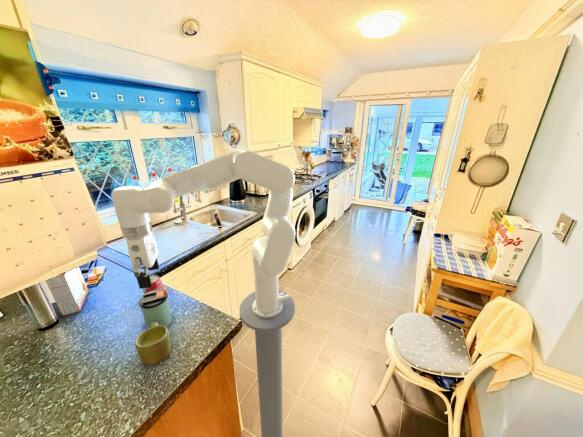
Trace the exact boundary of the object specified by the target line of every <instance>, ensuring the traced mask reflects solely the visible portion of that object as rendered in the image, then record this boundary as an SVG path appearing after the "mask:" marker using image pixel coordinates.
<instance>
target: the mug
mask: <svg viewBox="0 0 583 437" xmlns="http://www.w3.org/2000/svg"><path fill="white" fill-rule="evenodd" d="M150 327H151V328H149V329H147V328H146V329H145V330H143V331H141V333H140V334H138V336H137V337H136V338H135V340H134V346H135V350H136V352H137V354H138V357H139V359H140V360H141V362H142V364H144V365H147V366H154V365H157V364H159V363H160V362H162V361H164V360H165V359H166V358H168V356H169V355H170V354H171V352H172V344H171V340H170V334H169V333H170V332H169V330H168V327H165V326H162V325H158V323H157V322H155V323H152V324H151V326H150Z"/></svg>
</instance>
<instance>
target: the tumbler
mask: <svg viewBox="0 0 583 437" xmlns="http://www.w3.org/2000/svg"><path fill="white" fill-rule="evenodd" d="M160 291H163V290H161V289H158V290H153V291H150V292H148V293H146V294H144V293H143V295H141V296H140V297H139V299H138V305H139V307H140V309H141V312H142V316H143V319H144V323H145V327H146V330H147V329H149V328H151V327H150V326H151V324H152V323H155V322H157V323H158V325H162V326H165V327H166V328H168V327H169V326H170V325H171V323H172V322H173V317H172V316H173V315H172V312H171V307H170V302H169V298H168V297H169V296H168V293H167V296H164V297H160V298H157V299H156V292H160Z"/></svg>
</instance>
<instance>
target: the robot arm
mask: <svg viewBox="0 0 583 437" xmlns="http://www.w3.org/2000/svg"><path fill="white" fill-rule="evenodd" d="M240 179H241V180H242V181H243V182H247V183H249V184H251V185H252V184H253V185H255V186H258V187H261V188H265V189H267V190H268V199H267V203H266V207H265V211H264V213H263V216H262V221H261V224H260V227H261V231H262V232H263V234H264V235H265V236H260V237H258V238H256V239H255V240H254V241H253V244H252V245H251V257H252V265H253V274H254V277H253V278H254V292H255V295H256V300H255V301H254V302H253V305H252V309H253V312H254V313H255V314H256V315H257V316H259V317H263V318H270V317H274V316H276V315H277V314H279V313H280V312H281V310H282V306H283V305H282V302H283V300H287V299H289V296H290V294H288V293H287V295H284V293H283V292H284V291H283V292H282V293H280V294H279V290H280V289H279V288H280V287H279V286H280V285H279V282H280V281H279V279H280V278H279V275H280V274H282V272H283V271H284V270H285V268H286V267H287V264H288V262H289V259H290V256H291V253H292V250H293V248H294V244H295V241H296V235H297V234H296V228H295V226H294V224H293V223H292V222H291V221H290V220H289V216H290V212H291V208H292V204H293V199H294V194H293V193H294V192H293V186H294V185H295V182H296V176H295V173H294V171H293V169H292V168H291V167H289V166H288V165H286V164H283V163H280V162H278V161H276V160H272V159H270V158H268V157H265V156H263V155H260V154H258V153H256V152H253V151H252V150H250V149H247V148H237V149H234V150H232V151H231V150H230V151H229V152H227V153H224V154H222V155H219V156H217V157H215V158H212V159H209V160H207V161H205V162H202V163H200V164H197V165H196V164H195V165H193V166H191V167H188V168H185V169H182V170H179V171H176V172H174V173H170V174H169V175H166V176H164V177H161V178H159V179H157V180H155V181H153V182H152V183H151V184H150V185H149V187H148V188H144V189H143V188H142V187H140V186H136V185H127V186H122V187H121V186H120V187H117V188H115V189H113V190H112V191H111V194H110V196H111V200H112V203H113V206H114V210H115V214H116V217H117V220H118V225H119V228H120V230H121V235H122V237H123V239H125V240H126V245H127V251H128V256H129V259H130V264H131V266H132V273H133V275H134V277H135V279H136V280H137V284H138V288H139V289H140V290H143V288H149V287H151V286H152V284H151V280H150V276H151V275H150V274H149V271H157V270H159V269H160V266H159V260H158V256H159V249H158V246H157V242H156V238H155V235H154V230H153V225H152V221H151V217H150V214H164V213H167V212H169V211H171V210H172V209H173V207H174V205H175V203H176V202H175V200H176V199H178V198H180V197H182V196H185V195H188V194H190V193H194V192H198V191H205V192H207V191H208V192H211V191H215V190H217V189H220V188H221V187H224V186H226V185H229V184H231V183H232V182H233V183H234V182H235V181H237V180H240ZM142 270H144V272H143V271H142ZM283 295H284V296H283Z"/></svg>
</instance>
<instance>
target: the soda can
mask: <svg viewBox="0 0 583 437" xmlns="http://www.w3.org/2000/svg"><path fill="white" fill-rule="evenodd" d="M149 276H150V280H151V284H152V286H151V287H149V288H142V291H143V295H144V294H146V293H148V292H150V291H153V290H158V289H161V290H163V287H164V285H163V282H162V279H161V278H160V276H159V275H158V274H150V275H149Z"/></svg>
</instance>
